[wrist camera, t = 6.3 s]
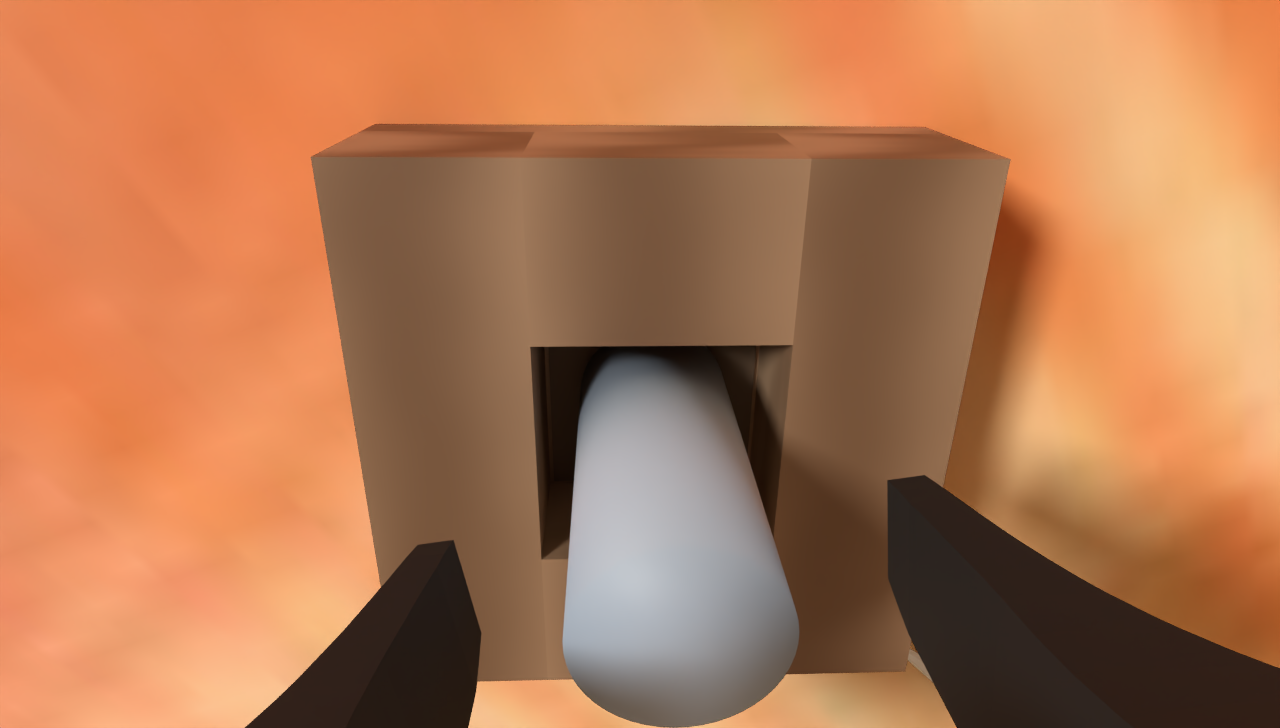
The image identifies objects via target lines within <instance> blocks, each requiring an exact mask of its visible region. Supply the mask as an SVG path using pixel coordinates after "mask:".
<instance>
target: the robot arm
mask: <svg viewBox="0 0 1280 728" xmlns="http://www.w3.org/2000/svg"><path fill="white" fill-rule="evenodd" d="M887 510H888V580H889V583H890V586H891V588H892V591H893V594H894V597H895V600H896V602H897V605H898V608H899V611H900V613H901V616H902V618H903V621H904V624H905V626H906V629H907V632H908V634H909V636H910V638H911V640H912V642H913V644H914V646H915V648H916V650H917V652H918V654H919V656H920V658H921V660H922V662H923V664H924V665H925V667H926V669H927V671H928V673H929V675H930V677H931V679H932V681H933V683H934V685H935V687H936V689H937V690H938V692H939V694H940V696H941V698H942V700H943V702H944V704H945V706H946V708H947V710H948V711H949V713H950V715H951V717H952V719H953V721H954V723H955V725H956V727H957V728H1280V668H1277V667H1274V666H1271V665H1269V664H1266V663H1264V662H1261V661H1258V660H1256V659H1253V658H1250V657H1248V656H1245V655H1243V654H1240V653H1237V652H1235V651H1232V650H1230V649H1227V648H1225V647H1223V646H1220V645H1218V644H1216V643H1213V642H1211V641H1208V640H1206V639H1204V638H1201V637H1199V636H1197V635H1194V634H1192V633H1190V632H1187V631H1185V630H1182V629H1180V628H1178V627H1176V626H1174V625H1171V624H1169V623H1167V622H1165V621H1163V620H1160V619H1158V618H1156V617H1154V616H1152V615H1150V614H1148V613H1146V612H1144V611H1142V610H1140V609H1138V608H1136V607H1134V606H1132V605H1130V604H1128V603H1126V602H1124V601H1122V600H1120V599H1118V598H1116V597H1114V596H1112V595H1110V594H1108V593H1106V592H1104V591H1103V590H1101V589H1099V588H1097V587H1095V586H1093V585H1091V584H1090V583H1088V582H1086V581H1084V580H1083V579H1081V578H1079V577H1077V576H1076V575H1074V574H1072V573H1071V572H1069V571H1067V570H1066V569H1064V568H1062V567H1061V566H1059V565H1057V564H1055V563H1054V562H1052V561H1050V560H1049V559H1047V558H1045V557H1044V556H1042V555H1041V554H1039V553H1038V552H1036V551H1034V550H1033V549H1031V548H1030V547H1028V546H1026V545H1025V544H1023V543H1022V542H1020V541H1019V540H1017V539H1016V538H1014V537H1013V536H1011V535H1010V534H1008V533H1007V532H1005V531H1004V530H1002V529H1001V528H999V527H998V526H996V525H995V524H994V523H992V522H991V521H989V520H988V519H986V518H985V517H983V516H982V515H981V514H979V513H978V512H976V511H975V510H974V509H972V508H971V507H969V506H968V505H966V504H965V503H964V502H962V501H961V500H960V499H958V498H957V497H955V496H954V495H953V494H951V493H950V492H948V491H947V490H946V489H944V488H943V487H941V486H940V485H939V484H937V483H936V482H934V481H933V480H931V479H930V478H928V477H927V476H926V475H921V476H914V477H907V478H899V479H892V480H887ZM480 645H481V630H480V626H479V623H478V620H477V616H476V613H475V610H474V606H473V603H472V600H471V596H470V593H469V590H468V586H467V583H466V580H465V576H464V573H463V570H462V566H461V563H460V560H459V557H458V553H457V550H456V547H455V543H454V540H449V541H441V542H434V543H427V544H419V545H417V546H416V547H415V548H414V549H413V550H412V551H411V553H410V554H409V555H408V556H407V557H406V558H405V560H404V561H403V562H402V563H401V564H400V565H399V567H398V568H397V569H396V570H395V571H394V573H393V574H392V575H391V576H390V577H389V579H388V580H387V581H386V582H385V583H384V584H383V586H382V587H381V588H380V589H379V590H378V592H377V593H376V594H375V595H374V596H373V597H372V599H371V600H370V601H369V602H368V603H367V604H366V606H365V607H364V608H363V609H362V610H361V611H360V612H359V614H358V615H357V616H356V617H355V618H354V619H353V620H352V622H351V623H350V624H349V625H348V626H347V627H346V628H345V630H344V631H343V632H342V633H341V634H340V635H339V636H338V637H337V638H336V639H335V640H334V641H333V642H332V643H331V645H330V646H329V647H328V648H327V649H326V650H325V651H324V652H323V653H322V654H321V655H320V656H319V657H318V658H317V659H316V660H315V661H314V662H313V663H312V664H311V666H310V667H309V668H308V669H307V670H306V671H305V672H304V673H303V674H302V675H301V676H300V677H299V678H298V679H297V680H296V681H295V682H294V683H293V684H292V685H291V686H290V687H289V688H288V689H287V690H286V691H285V692H284V693H283V694H282V695H281V696H279V697H278V698H277V699H276V700H275V701H274V702H273V703H272V704H271V705H270V706H269V707H268V708H266V709H265V710H264V711H263V712H262V713H261V714H260V715H259V716H258V717H256V718H255V719H254V720H253V721H252V722H251V723H250V724H249V725H247V726H246V727H245V728H468V726H469V721H470V717H471V712H472V708H473V703H474V698H475V693H476V687H477V677H478V668H479V657H480Z"/></svg>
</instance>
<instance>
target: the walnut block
mask: <svg viewBox="0 0 1280 728" xmlns="http://www.w3.org/2000/svg"><path fill="white" fill-rule="evenodd" d="M311 160H312V167H313V173H314V179H315V185H316V191H317V197H318V203H319V210H320V216H321V222H322V228H323V234H324V240H325V246H326V253H327V259H328V265H329V271H330V277H331V283H332V290H333V296H334V302H335V308H336V314H337V320H338V326H339V333H340V339H341V345H342V351H343V357H344V363H345V369H346V376H347V382H348V388H349V394H350V400H351V406H352V412H353V419H354V425H355V431H356V437H357V443H358V449H359V455H360V462H361V468H362V474H363V480H364V486H365V492H366V499H367V505H368V511H369V517H370V523H371V529H372V535H373V542H374V548H375V554H376V560H377V566H378V572H379V578H380V585H381V587H382V586H383V584H384V583H385V582H386V581H387V580H388V579H389V577H390V576H391V575H392V574H393V573H394V571H395V570H396V569H397V568H398V567H399V565H400V564H401V563H402V562H403V561H404V560H405V558H406V557H407V556H408V555H409V554H410V553H411V551H412V550H413V549H414V548H415V547H416V546H417V545H419V544H427V543H434V542H441V541H449V540H454V543H455V547H456V550H457V553H458V557H459V560H460V563H461V566H462V570H463V573H464V576H465V580H466V583H467V586H468V590H469V593H470V596H471V600H472V603H473V606H474V610H475V613H476V616H477V620H478V623H479V626H480V630H481V645H480V657H479V668H478V677H477V681H518V680H560V679H573V678H572V676H571V674H570V672H569V670H568V668H567V665H566V662H565V658H564V654H563V642H562V641H563V627H564V613H565V599H566V585H567V571H568V557H569V543H570V529H571V516H572V502H573V488H574V474H575V460H576V446H577V432H578V418H579V404H580V391H581V381H582V377H583V374H584V371H585V369H586V366H587V364H588V363H589V361H590V359H591V358H592V356H593V355H594V354H595V352H596V351H597V350H598V349H599V348H600V347H601V346H706V347H707V348H708V349H709V351H710V352H711V353H712V354H713V356H714V357H715V359H716V361H717V362H718V365H719V367H720V369H721V372H722V376H723V379H724V382H725V385H726V388H727V392H728V395H729V398H730V401H731V404H732V408H733V411H734V414H735V417H736V420H737V423H738V427H739V430H740V433H741V436H742V439H743V443H744V446H745V449H746V452H747V455H748V459H749V462H750V465H751V468H752V471H753V475H754V478H755V481H756V484H757V487H758V491H759V494H760V497H761V500H762V503H763V506H764V510H765V513H766V516H767V519H768V522H769V526H770V529H771V532H772V535H773V538H774V542H775V545H776V548H777V551H778V554H779V558H780V561H781V564H782V567H783V570H784V574H785V577H786V580H787V583H788V586H789V590H790V593H791V596H792V599H793V602H794V605H795V609H796V613H797V616H798V621H799V642H798V647H797V651H796V655H795V657H794V660H793V662H792V664H791V666H790V668H789V670H788V671H787V673H786V674H816V673H859V672H901V671H905V670H906V665H907V660H908V655H909V651H910V646H911V641H912V640H911V638H910V636H909V634H908V632H907V629H906V626H905V624H904V621H903V618H902V616H901V613H900V611H899V608H898V605H897V602H896V600H895V597H894V594H893V591H892V588H891V586H890V583H889V580H888V510H887V480H892V479H899V478H907V477H914V476H921V475H926V476H927V477H928V478H930V479H931V480H933V481H934V482H936V483H937V484H939V485H940V486H941V487H943V485H944V480H945V475H946V471H947V466H948V461H949V456H950V451H951V446H952V441H953V437H954V432H955V427H956V422H957V417H958V412H959V407H960V402H961V398H962V393H963V388H964V383H965V378H966V373H967V368H968V364H969V359H970V354H971V349H972V344H973V339H974V334H975V330H976V325H977V320H978V315H979V310H980V305H981V300H982V295H983V291H984V286H985V281H986V276H987V271H988V266H989V261H990V257H991V252H992V247H993V242H994V237H995V232H996V227H997V222H998V218H999V213H1000V208H1001V203H1002V198H1003V193H1004V188H1005V184H1006V179H1007V174H1008V169H1009V164H1010V159H1008V158H1005V157H1003V156H1000V155H997V154H995V153H992V152H989V151H987V150H984V149H981V148H979V147H976V146H974V145H971V144H968V143H966V142H963V141H960V140H958V139H955V138H952V137H950V136H947V135H944V134H942V133H939V132H937V131H934V130H931V129H929V128H926V127H808V126H625V125H442V124H374V125H372V126H370V127H368V128H366V129H364V130H363V131H361V132H359V133H357V134H355V135H353V136H351V137H349V138H347V139H345V140H343V141H341V142H339V143H337V144H335V145H333V146H331V147H329V148H327V149H325V150H323V151H321V152H319V153H317V154H316V155H314V156H312V157H311Z"/></svg>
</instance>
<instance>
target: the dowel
mask: <svg viewBox="0 0 1280 728" xmlns="http://www.w3.org/2000/svg"><path fill="white" fill-rule="evenodd" d="M562 642H563V654H564V658H565V662H566V665H567V668H568V670H569V672H570V674H571V676H572V678H573V679H574V681H575V683H576V684H577V686H578V687H579V688H580V689H581V690H582V691H583V692H584V694H585V695H586V696H587V697H589V698H590V699H591V700H592V701H593V702H594V703H596V704H597V705H599V706H600V707H602V708H603V709H605V710H606V711H608V712H610V713H612V714H614V715H616V716H618V717H621V718H624V719H626V720H629V721H632V722H636V723H640V724H644V725H650V726H657V727H672V728H675V727H691V726H698V725H704V724H709V723H713V722H717V721H720V720H723V719H726V718H729V717H731V716H734V715H736V714H738V713H740V712H742V711H744V710H746V709H748V708H749V707H751V706H753V705H755V704H756V703H757V702H759V701H760V700H761V699H763V698H764V697H765V696H767V695H768V694H769V693H770V692H771V691H772V690H773V689H774V688H775V687H776V686H777V685H778V684H779V682H780V681H781V680H782V679H783V678H784V676H785V674H786V673H787V671H788V670H789V668H790V666H791V664H792V662H793V660H794V657H795V655H796V651H797V647H798V642H799V621H798V616H797V613H796V609H795V605H794V602H793V599H792V596H791V593H790V590H789V586H788V583H787V580H786V577H785V574H784V570H783V567H782V564H781V561H780V558H779V554H778V551H777V548H776V545H775V542H774V538H773V535H772V532H771V529H770V526H769V522H768V519H767V516H766V513H765V510H764V506H763V503H762V500H761V497H760V494H759V491H758V487H757V484H756V481H755V478H754V475H753V471H752V468H751V465H750V462H749V459H748V455H747V452H746V449H745V446H744V443H743V439H742V436H741V433H740V430H739V427H738V423H737V420H736V417H735V414H734V411H733V408H732V404H731V401H730V398H729V395H728V392H727V388H726V385H725V382H724V379H723V376H722V372H721V369H720V367H719V365H718V362H717V361H716V359H715V357H714V356H713V354H712V353H711V352H710V351H709V349H708V348H707V347H706V346H601V347H600V348H599V349H598V350H597V351H596V352H595V354H594V355H593V356H592V358H591V359H590V361H589V363H588V364H587V366H586V369H585V371H584V374H583V377H582V381H581V391H580V404H579V418H578V432H577V446H576V460H575V474H574V488H573V502H572V516H571V529H570V543H569V557H568V571H567V585H566V599H565V613H564V627H563V641H562Z"/></svg>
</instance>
